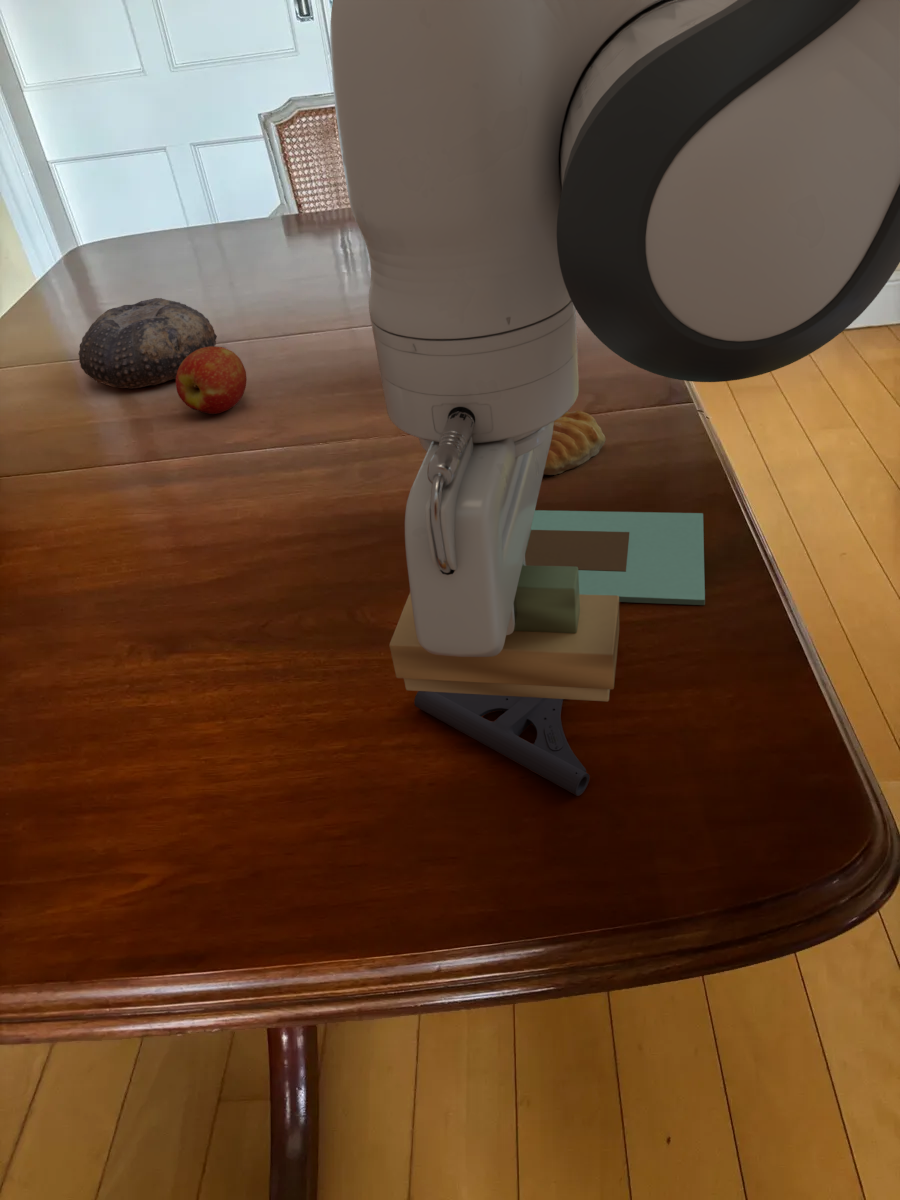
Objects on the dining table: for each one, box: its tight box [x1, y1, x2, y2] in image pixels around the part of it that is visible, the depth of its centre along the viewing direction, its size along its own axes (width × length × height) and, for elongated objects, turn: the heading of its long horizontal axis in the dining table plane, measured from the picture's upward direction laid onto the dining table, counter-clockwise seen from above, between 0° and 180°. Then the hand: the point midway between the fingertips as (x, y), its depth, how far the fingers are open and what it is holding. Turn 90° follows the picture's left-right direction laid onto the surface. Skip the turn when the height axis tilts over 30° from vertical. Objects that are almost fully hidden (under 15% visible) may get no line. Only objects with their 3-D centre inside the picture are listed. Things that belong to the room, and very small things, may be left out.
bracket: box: [413, 691, 591, 797], centre depth 66 cm, size 14×15×3 cm
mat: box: [525, 509, 706, 606], centre depth 80 cm, size 22×13×1 cm, turn 78°
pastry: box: [543, 410, 607, 476], centre depth 93 cm, size 9×7×4 cm
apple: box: [175, 346, 248, 415], centre depth 112 cm, size 8×8×8 cm
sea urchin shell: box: [78, 297, 218, 390], centre depth 125 cm, size 19×19×10 cm
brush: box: [388, 565, 620, 702], centre depth 49 cm, size 12×5×7 cm, turn 78°
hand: (504, 606), depth 48 cm, fingers closed on brush
